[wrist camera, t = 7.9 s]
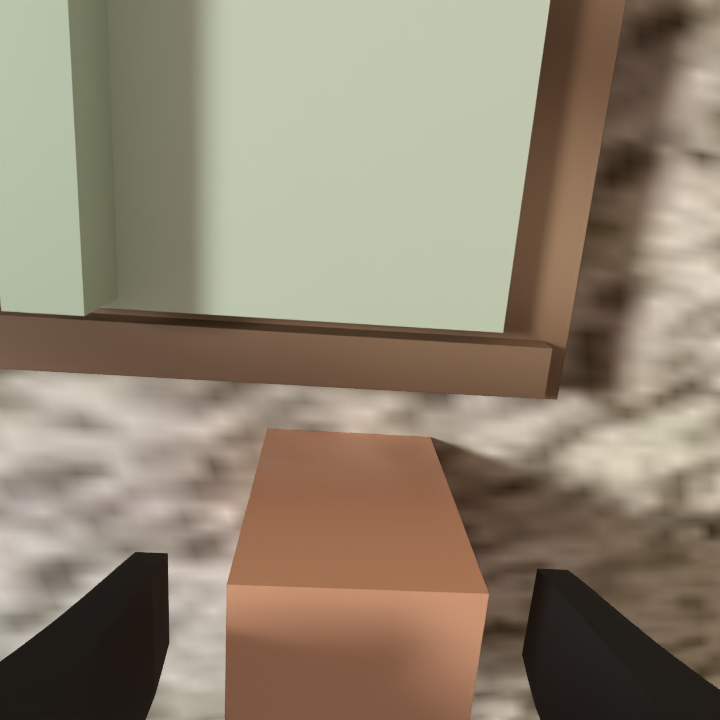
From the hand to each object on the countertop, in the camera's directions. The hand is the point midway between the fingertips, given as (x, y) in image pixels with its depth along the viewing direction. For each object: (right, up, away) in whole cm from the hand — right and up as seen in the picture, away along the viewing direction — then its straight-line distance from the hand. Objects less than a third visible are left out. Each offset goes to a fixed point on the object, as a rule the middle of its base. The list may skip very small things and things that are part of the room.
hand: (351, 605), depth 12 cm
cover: (-1, +10, -2) cm, 10 cm away
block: (0, +1, +4) cm, 4 cm away
